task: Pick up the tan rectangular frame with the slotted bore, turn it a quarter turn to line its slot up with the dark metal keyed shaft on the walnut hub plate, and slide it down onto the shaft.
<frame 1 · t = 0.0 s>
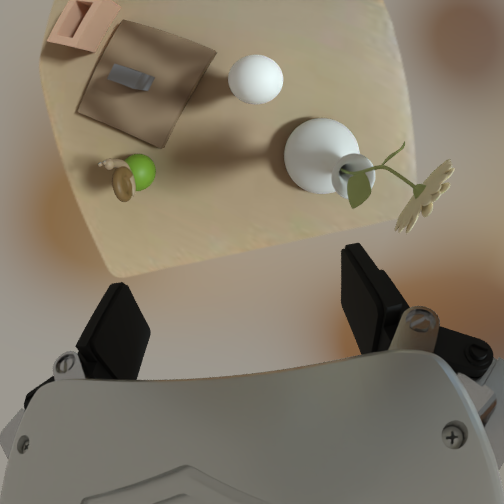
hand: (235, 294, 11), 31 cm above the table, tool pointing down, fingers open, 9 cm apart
hub plate: (142, 80, 32), on the table
tan rectangular frame: (92, 25, 26), on the table
lightbulb: (253, 85, 34), on the table
snail figurine: (143, 165, 39), on the table
flower in vase: (324, 151, 39), on the table
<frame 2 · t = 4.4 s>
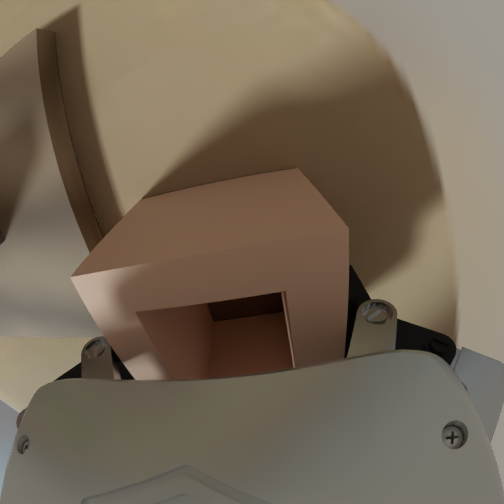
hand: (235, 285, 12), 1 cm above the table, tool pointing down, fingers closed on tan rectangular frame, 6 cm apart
tan rectangular frame: (236, 270, 13), on the table, touching gripper
when the fingers open (4 cm above the table, at t = 11.8 s): tan rectangular frame stays where it is, resting on hub plate.
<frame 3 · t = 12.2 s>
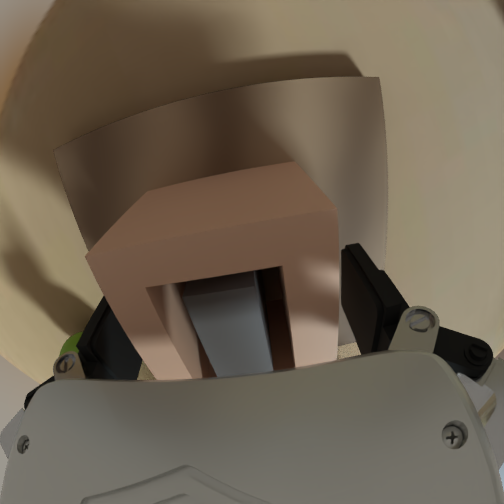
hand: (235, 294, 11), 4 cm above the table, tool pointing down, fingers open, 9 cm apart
hub plate: (237, 245, 15), on the table
tan rectangular frame: (237, 258, 14), point 1 cm above the table, touching hub plate
snail figurine: (105, 336, 19), on the table
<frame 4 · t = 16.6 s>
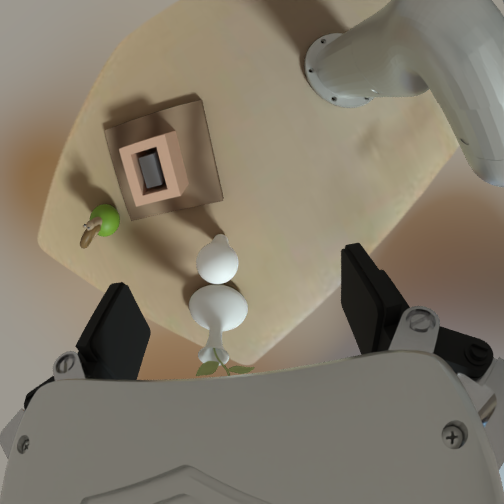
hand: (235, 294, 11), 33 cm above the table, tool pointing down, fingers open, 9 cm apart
hub plate: (163, 161, 40), on the table
tan rectangular frame: (161, 162, 39), point 1 cm above the table, touching hub plate
lightbulb: (221, 238, 47), on the table
snail figurine: (112, 211, 44), on the table
flower in vase: (222, 303, 54), on the table
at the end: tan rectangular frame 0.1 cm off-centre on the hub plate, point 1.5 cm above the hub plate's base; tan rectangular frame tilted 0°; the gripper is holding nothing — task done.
